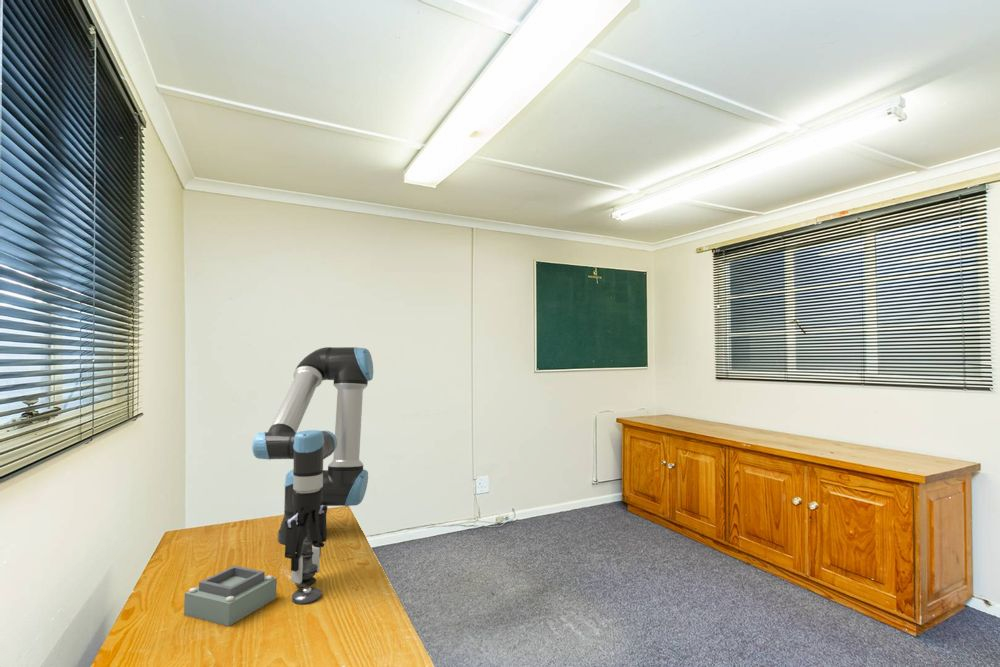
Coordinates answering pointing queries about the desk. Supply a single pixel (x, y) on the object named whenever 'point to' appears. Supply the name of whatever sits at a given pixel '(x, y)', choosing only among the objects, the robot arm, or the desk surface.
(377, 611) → the desk surface
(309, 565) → the dark metal chess piece
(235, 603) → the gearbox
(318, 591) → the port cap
